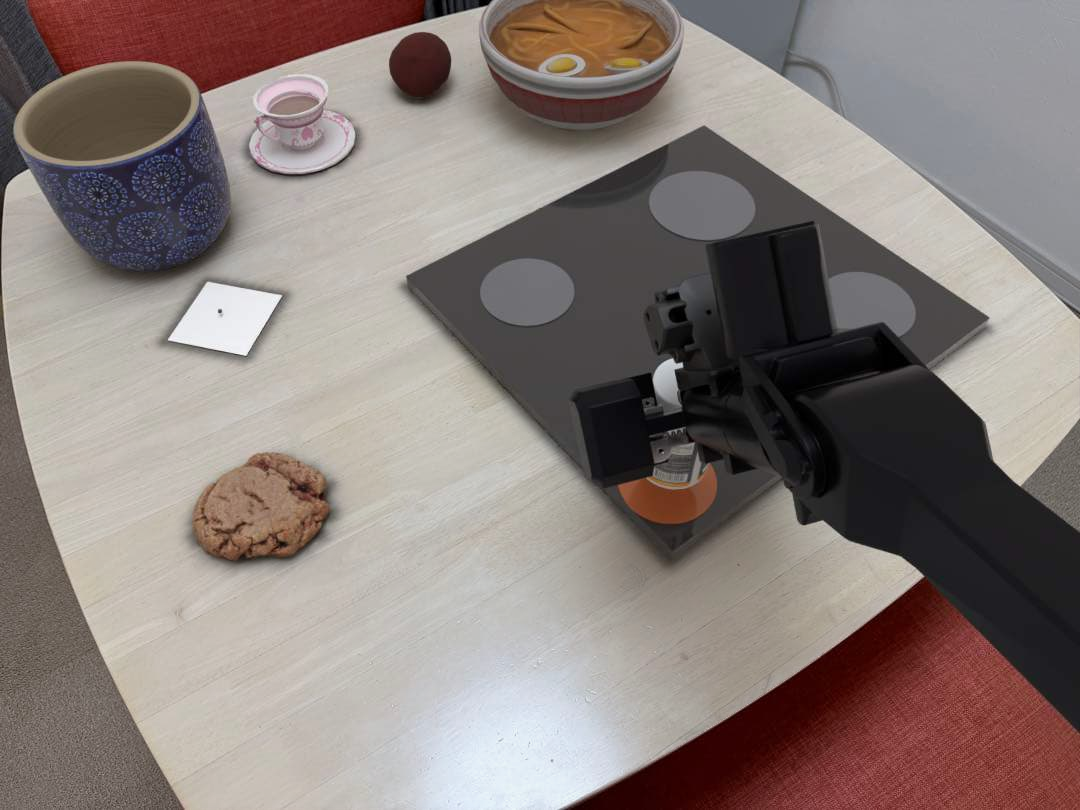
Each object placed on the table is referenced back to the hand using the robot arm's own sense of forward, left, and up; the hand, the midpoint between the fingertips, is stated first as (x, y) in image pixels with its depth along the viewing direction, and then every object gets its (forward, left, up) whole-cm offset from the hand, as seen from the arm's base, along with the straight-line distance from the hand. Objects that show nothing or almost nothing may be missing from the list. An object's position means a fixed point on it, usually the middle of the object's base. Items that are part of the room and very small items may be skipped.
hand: (674, 396), depth 65 cm
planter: (+54, +20, -11) cm, 59 cm away
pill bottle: (-1, 0, -7) cm, 7 cm away
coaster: (+39, +20, -11) cm, 45 cm away
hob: (+13, -16, -11) cm, 23 cm away
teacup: (+59, +1, -11) cm, 60 cm away
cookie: (+17, +27, -11) cm, 34 cm away
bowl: (+46, -29, -11) cm, 55 cm away
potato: (+60, -16, -11) cm, 63 cm away
